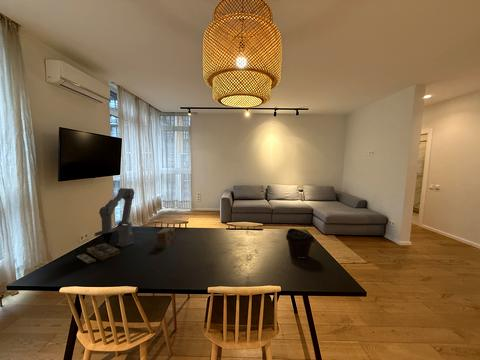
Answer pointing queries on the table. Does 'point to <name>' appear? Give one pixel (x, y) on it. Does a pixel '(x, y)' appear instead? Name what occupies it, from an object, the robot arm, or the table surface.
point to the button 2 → (103, 247)
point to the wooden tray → (102, 252)
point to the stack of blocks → (165, 237)
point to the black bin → (299, 243)
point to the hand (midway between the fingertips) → (107, 243)
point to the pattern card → (86, 258)
